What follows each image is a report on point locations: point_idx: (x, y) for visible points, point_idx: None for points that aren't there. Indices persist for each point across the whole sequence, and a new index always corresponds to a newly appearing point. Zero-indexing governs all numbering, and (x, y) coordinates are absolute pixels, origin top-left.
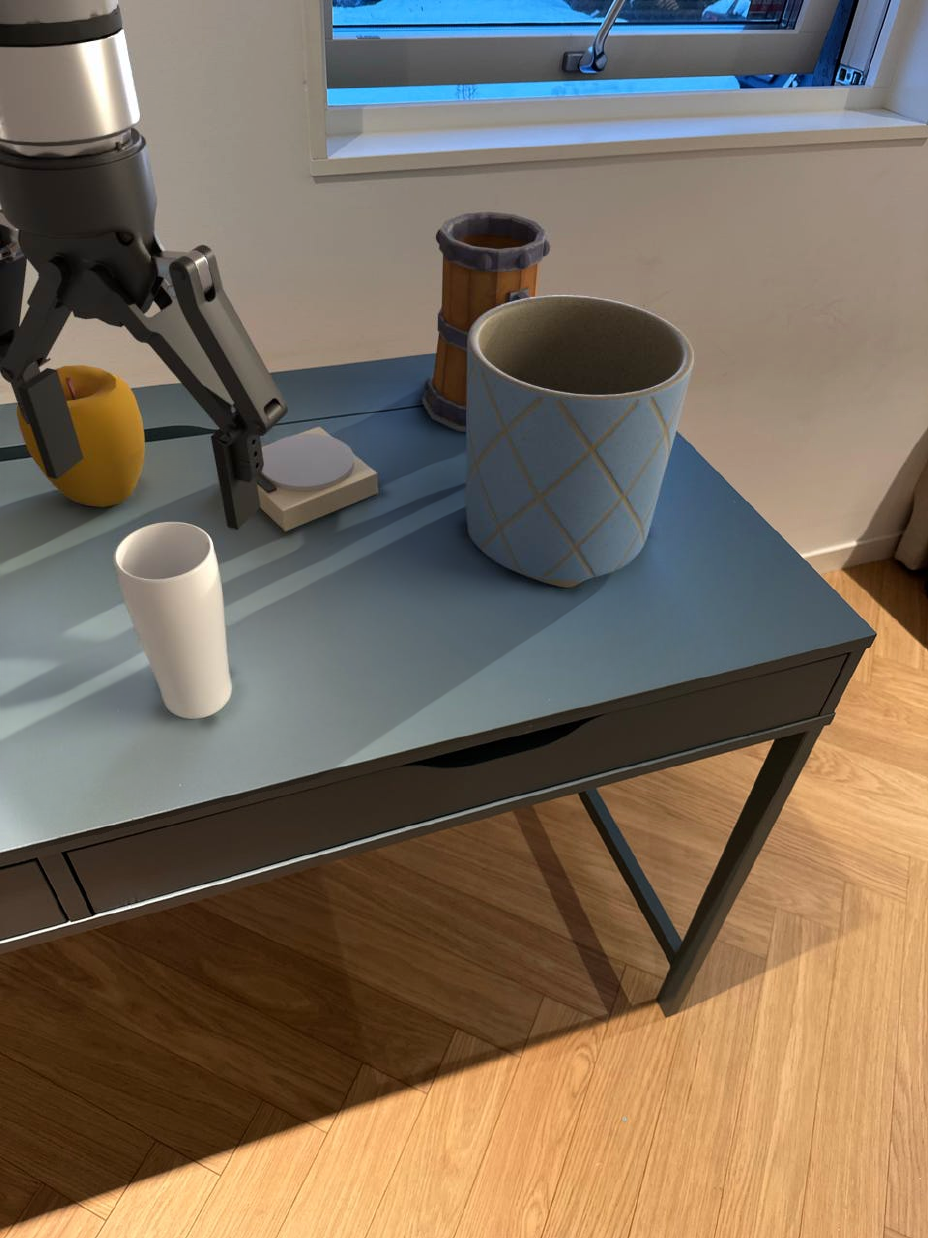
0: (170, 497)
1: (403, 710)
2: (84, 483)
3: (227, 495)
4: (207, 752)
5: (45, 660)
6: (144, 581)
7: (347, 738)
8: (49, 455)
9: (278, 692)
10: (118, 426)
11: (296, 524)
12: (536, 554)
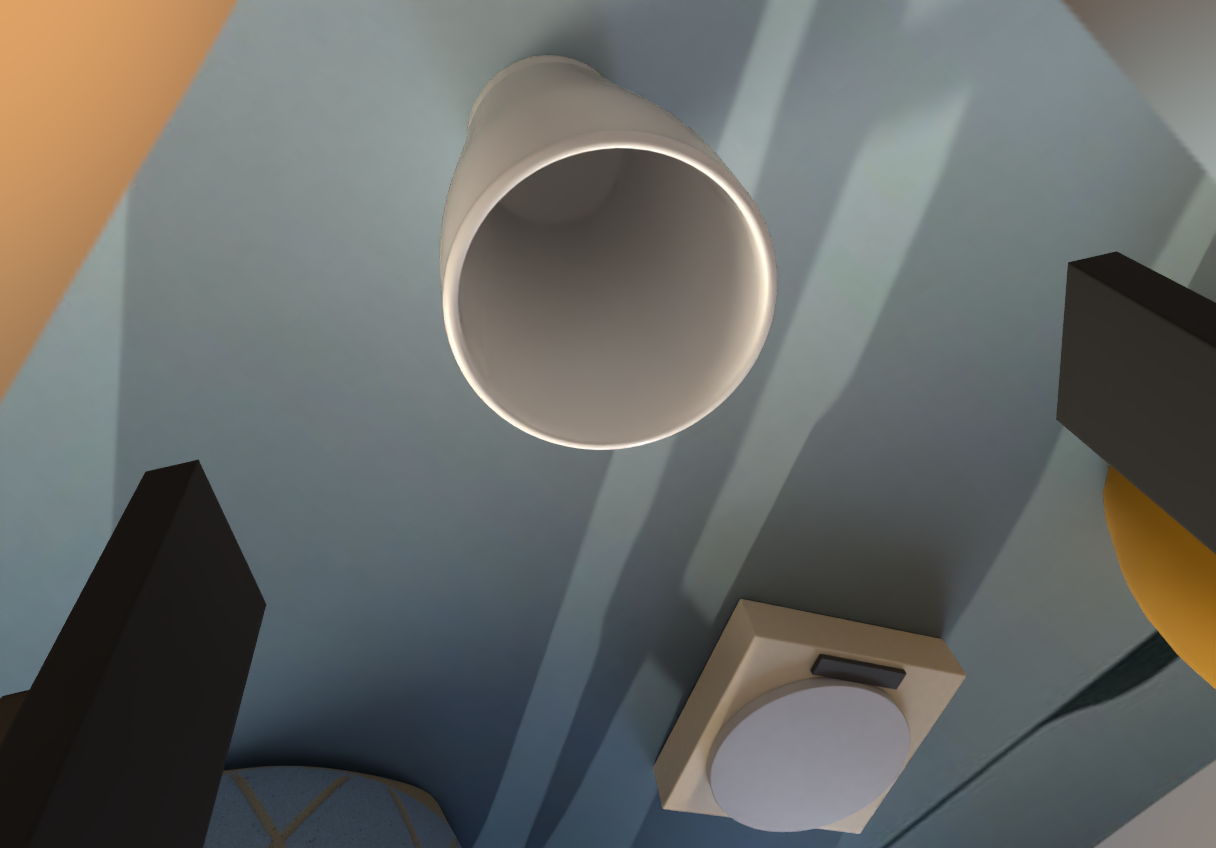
0: (1023, 535)
1: (147, 373)
2: None
3: (113, 577)
4: (401, 15)
5: (945, 6)
6: (544, 151)
7: (177, 242)
8: (1146, 309)
9: (409, 255)
10: (1208, 616)
11: (730, 624)
12: None
